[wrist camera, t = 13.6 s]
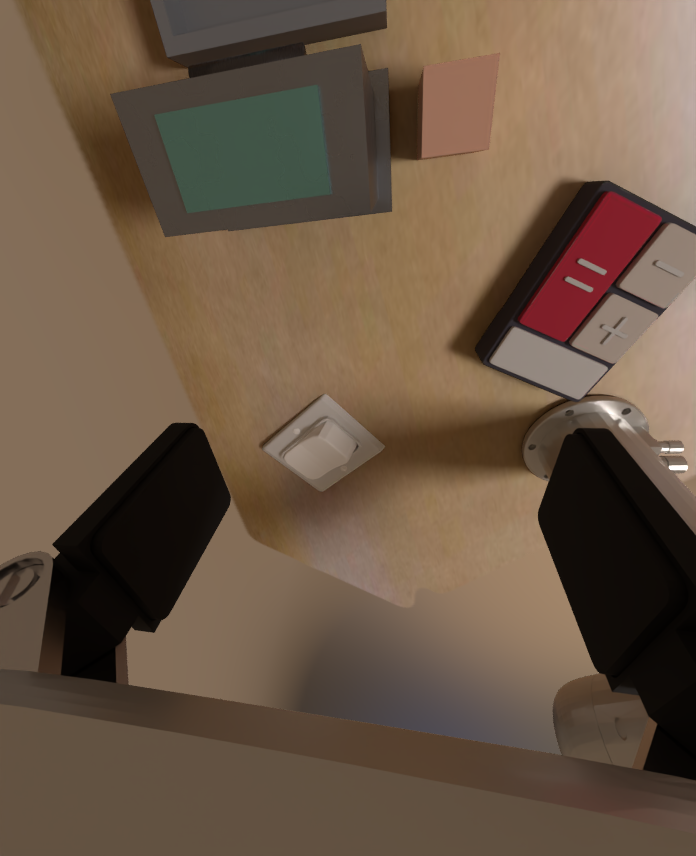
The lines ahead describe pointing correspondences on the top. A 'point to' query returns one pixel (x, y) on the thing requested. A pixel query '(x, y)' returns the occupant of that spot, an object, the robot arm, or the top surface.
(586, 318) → the calculator
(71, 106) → the top surface
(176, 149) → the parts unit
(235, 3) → the parts tray
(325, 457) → the light switch
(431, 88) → the terracotta block
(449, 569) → the top surface
